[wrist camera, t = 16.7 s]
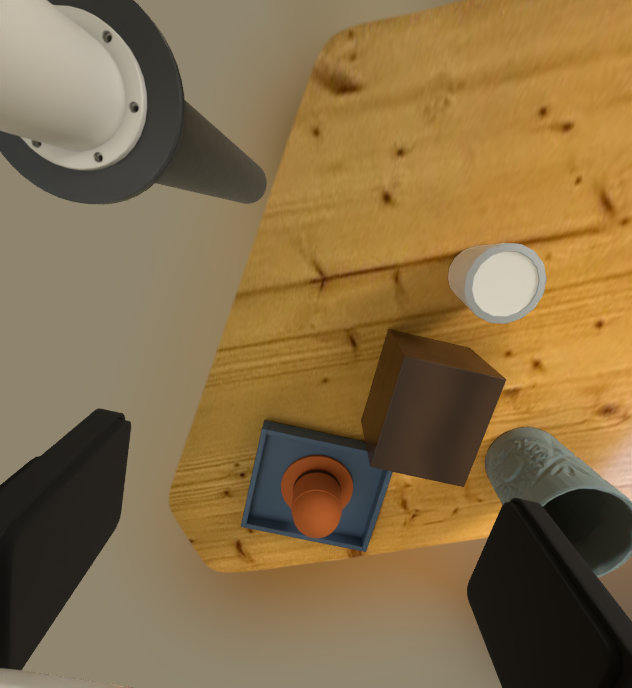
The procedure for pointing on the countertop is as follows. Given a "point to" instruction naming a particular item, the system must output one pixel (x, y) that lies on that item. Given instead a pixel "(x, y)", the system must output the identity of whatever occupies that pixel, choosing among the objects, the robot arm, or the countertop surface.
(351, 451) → the tray
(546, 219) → the countertop surface
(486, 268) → the shot glass
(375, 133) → the countertop surface
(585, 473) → the grey-green cup
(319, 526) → the hat
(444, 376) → the stand block
